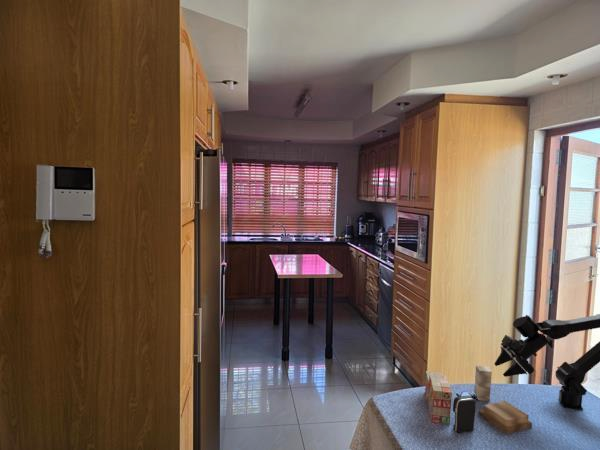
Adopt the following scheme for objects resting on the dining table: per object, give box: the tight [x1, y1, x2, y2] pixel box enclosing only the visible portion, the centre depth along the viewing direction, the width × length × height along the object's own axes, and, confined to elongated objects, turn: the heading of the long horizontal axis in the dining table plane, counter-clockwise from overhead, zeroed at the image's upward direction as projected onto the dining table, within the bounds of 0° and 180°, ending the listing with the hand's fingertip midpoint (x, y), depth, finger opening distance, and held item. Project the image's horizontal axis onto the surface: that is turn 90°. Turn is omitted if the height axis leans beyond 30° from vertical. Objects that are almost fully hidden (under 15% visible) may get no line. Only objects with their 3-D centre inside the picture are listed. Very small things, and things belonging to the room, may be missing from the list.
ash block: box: [473, 365, 493, 402], centre depth 156 cm, size 4×4×12 cm
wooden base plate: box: [478, 409, 533, 435], centre depth 141 cm, size 12×12×2 cm
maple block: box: [483, 400, 529, 427], centre depth 140 cm, size 10×10×2 cm
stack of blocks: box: [424, 370, 453, 425], centre depth 148 cm, size 21×6×12 cm, turn 169°
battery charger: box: [452, 395, 477, 433], centre depth 135 cm, size 7×4×11 cm, turn 103°
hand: (499, 370), depth 155 cm, fingers open, 9 cm apart
